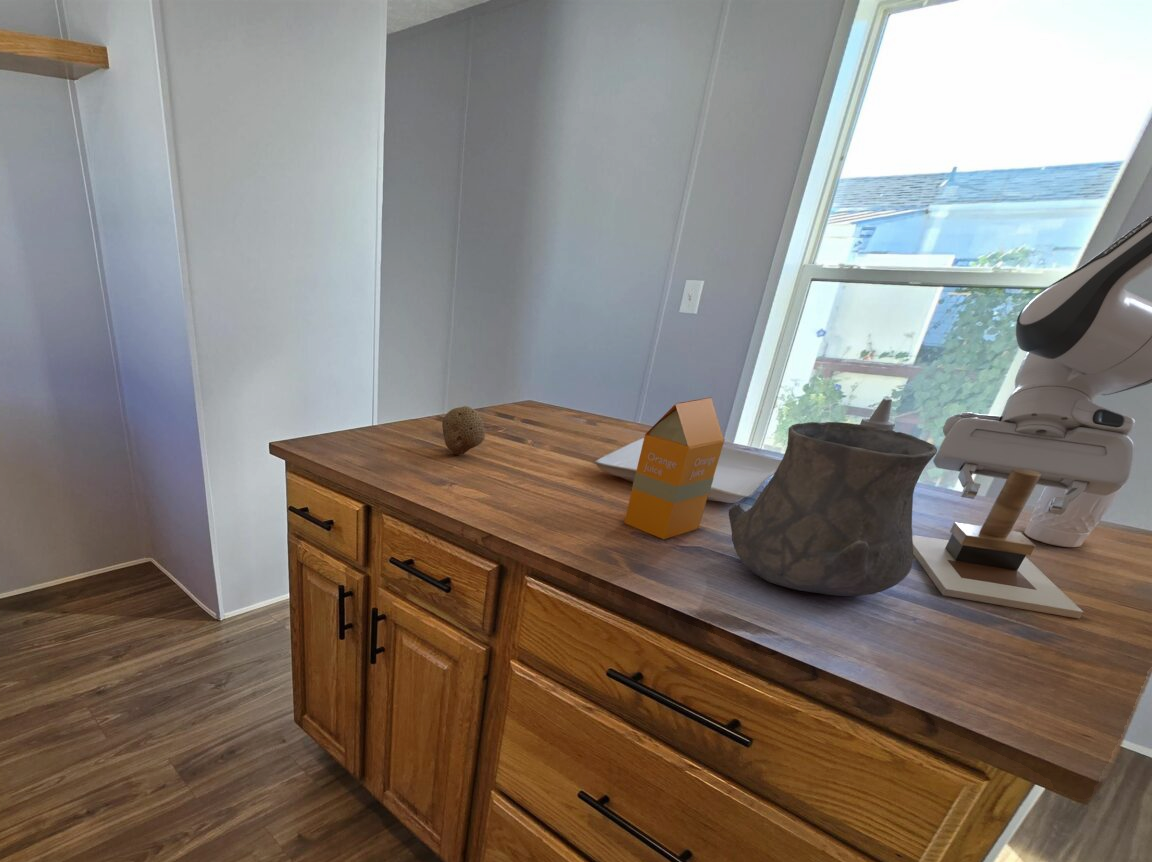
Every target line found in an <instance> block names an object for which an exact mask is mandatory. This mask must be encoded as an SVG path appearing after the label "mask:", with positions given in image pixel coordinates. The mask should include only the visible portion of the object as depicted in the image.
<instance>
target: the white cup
mask: <svg viewBox="0 0 1152 862" xmlns="http://www.w3.org/2000/svg"><path fill="white" fill-rule="evenodd" d="M1125 486H1126V484H1124V485H1123V486H1122V487H1121V488H1120V489H1119V490H1117V491H1116V492H1114V493H1111V494H1109V495H1098V494H1092V493H1086V492H1082V493H1081V494H1080V495H1079V496H1078V497H1077V498H1076V499H1074V500H1073V501H1071V502H1069V503H1068V506H1067V509H1066V510H1065V512H1064V513H1063V514H1062V515H1058V514H1052V513H1047V510H1048V508H1049V504H1050V502H1051V501H1053V499H1054V498H1055V497H1060V498H1064V497H1066V496H1067V495H1065V491H1066V489H1061V488H1055V487H1049V486H1044V488H1043V490H1042V492H1041V495H1040V496H1039V498H1038V500H1037V501H1036V504H1035V506H1034V509H1033V511H1032V513H1031V514H1030V515H1031V517H1030V520H1029V522H1028V524H1027V525H1026V527H1025V529H1024V532H1023V533H1024V534H1025V536H1026V537H1027V538H1031V539H1033V540H1035V541H1037V542H1040V543H1044V544H1048V545H1052V546H1057V547H1065V548H1079V547H1081V546H1082V545H1083V543H1084V542H1085V541H1086V539H1087V537H1088V536H1089V535H1090V534H1091V532H1093V531H1094V530H1095V528H1096V526H1098V524H1099V523H1100V522H1101V520H1102V518H1103V517H1104V516H1105V515H1106V514H1107V513H1108V510H1109V509H1110V508H1111V506H1112V505H1113V503H1114V502H1115V500H1116V499H1117V498H1118V496H1119V495H1120V494H1121V492H1122V491H1123V489H1124V488H1125Z"/></svg>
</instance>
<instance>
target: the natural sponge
mask: <svg viewBox="0 0 1152 862" xmlns="http://www.w3.org/2000/svg"><path fill="white" fill-rule="evenodd" d="M441 426H442V434H443V440H444V444H445V447H446V448H447V449H448V450H450V451H451V453H452V454H453V455H455V456H456V455H457V456H461V455H464V454H465V453H467V452H469V451H470V450H471V449H474V448H476V447H478V446H480V445H481V444H482V443H483V442H484V440H485V438H486V434H487V433H486V427H485V424H484V421H483V419H482V417H481V415H480V414H479V413H478V412H477V411H476V410H475V409H474V408H472V407H470V406H466V405H463V406H459V407H454V408H452V409H450V410H449V411H448V412H447V413H446V414H445V415H444V416H443V419H442V423H441Z"/></svg>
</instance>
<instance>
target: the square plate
mask: <svg viewBox="0 0 1152 862" xmlns="http://www.w3.org/2000/svg"><path fill="white" fill-rule="evenodd" d="M643 441H644V437H642V438H639V439H637V440H634V441H632V442H630V443H629V444H626V445H624V446H621V447H620V448H618V449H616V450H613V451H611V452H609V453H607V454H605V455H603V456H601V457H600V458H597V459H596V460H594V462H593V463H594V464H595V465H596V466H597V468H599V469H600V470H601V471H603V472H604V473H606V474H608V475H611V476H615V477H618V478H621V479H623V480H625V481H628V482H631V483H633V482H634V477H635V473H636V471H637V466H638V462H639V458H640V454H641V449H642V445H643ZM781 461H782V459H778V458H774V457H770V456H766V455H761V454H757V453H754V452H749V451H744V450H741V449H740V450H739V449H735V448H730V447H725V446H723V447H722V450H721V454H720V457H719V460H718V464H717V467H716V471H715V474H714V479H713V482H712V485H711V489H710V492H709V494H708V498H707V501H710V502H721V503H726V504H727V503H728V504H734V503H737V502H740V501H741V500H743V499H745V498H749V497H751V496H752V495H753V494H754V493H755V492H756V491H757V490H758V489H759V488H760V487H761V486H762V484H764V483H765V482H766V481H768V479H770V478H772V477H773V476H774V474H775V472H776V470H777V468H778V466H779V464H780V463H781Z"/></svg>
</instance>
